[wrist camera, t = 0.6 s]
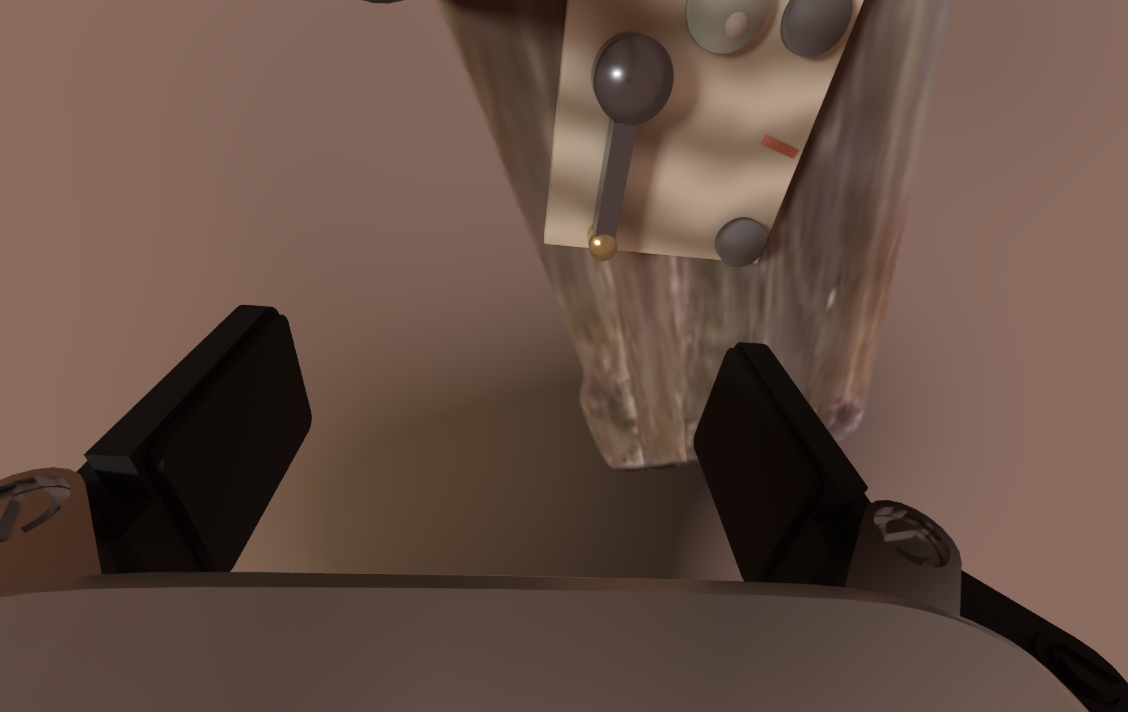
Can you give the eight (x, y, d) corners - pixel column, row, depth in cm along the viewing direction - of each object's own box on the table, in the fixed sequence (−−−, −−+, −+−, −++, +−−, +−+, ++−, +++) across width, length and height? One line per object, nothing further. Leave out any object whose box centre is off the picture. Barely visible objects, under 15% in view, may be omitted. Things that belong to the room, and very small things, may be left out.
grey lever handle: (597, 26, 31) (602, 29, 28) (672, 36, 31) (683, 41, 29) (568, 243, 40) (570, 259, 37) (626, 248, 40) (632, 264, 38)
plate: (573, -69, 30) (577, -74, 27) (856, -23, 32) (885, -23, 29) (544, 233, 42) (544, 250, 39) (749, 253, 44) (762, 270, 41)
